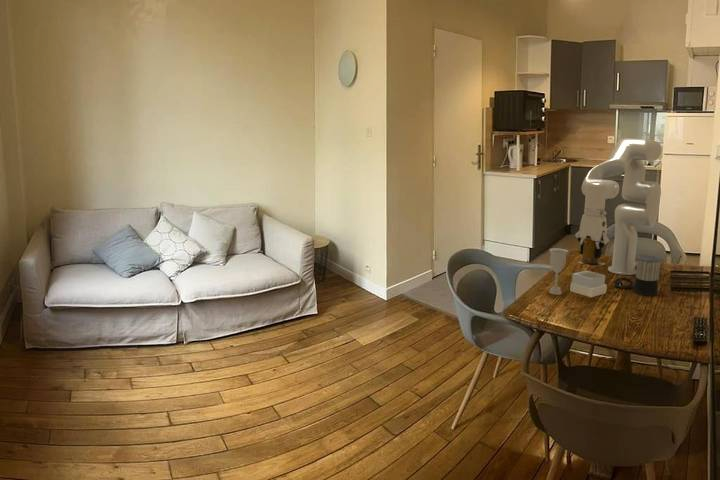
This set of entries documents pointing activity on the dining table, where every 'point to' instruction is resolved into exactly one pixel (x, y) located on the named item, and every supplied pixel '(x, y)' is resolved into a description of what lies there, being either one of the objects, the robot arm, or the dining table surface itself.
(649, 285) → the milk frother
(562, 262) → the chalice
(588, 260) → the condiment
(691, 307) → the dining table surface
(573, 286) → the tower base
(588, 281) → the tower top
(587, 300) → the dining table surface
